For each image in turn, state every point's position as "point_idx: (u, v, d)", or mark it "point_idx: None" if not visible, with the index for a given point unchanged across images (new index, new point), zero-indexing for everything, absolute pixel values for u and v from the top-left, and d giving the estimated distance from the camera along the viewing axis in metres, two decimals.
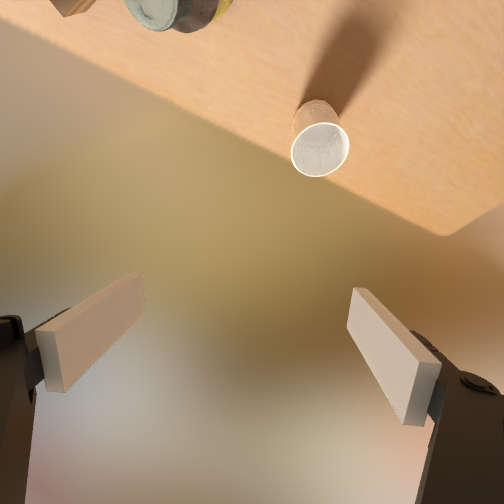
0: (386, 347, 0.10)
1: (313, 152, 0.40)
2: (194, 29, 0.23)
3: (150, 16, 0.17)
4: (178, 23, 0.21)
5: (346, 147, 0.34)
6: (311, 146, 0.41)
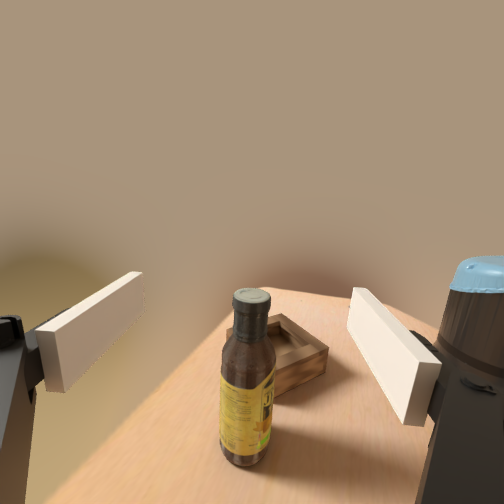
0: (386, 347, 0.10)
1: None
2: (224, 353, 0.26)
3: (241, 293, 0.26)
4: (230, 337, 0.27)
5: None
6: None
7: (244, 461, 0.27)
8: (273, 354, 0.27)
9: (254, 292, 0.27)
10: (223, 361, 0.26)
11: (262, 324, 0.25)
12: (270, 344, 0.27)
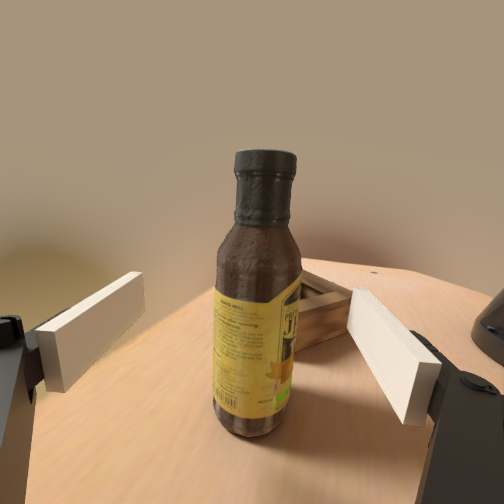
0: (386, 347, 0.10)
1: None
2: (221, 251, 0.16)
3: None
4: (230, 230, 0.17)
5: None
6: None
7: (250, 428, 0.17)
8: (299, 255, 0.17)
9: None
10: (218, 264, 0.16)
11: (283, 196, 0.15)
12: (294, 241, 0.17)
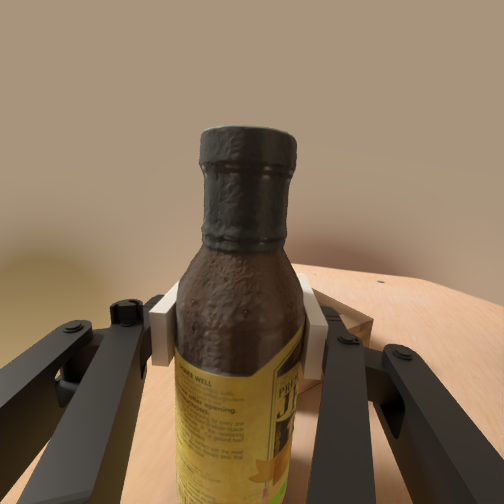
0: None
1: None
2: (180, 288, 0.11)
3: None
4: (197, 254, 0.11)
5: None
6: None
7: None
8: (300, 293, 0.11)
9: None
10: (177, 308, 0.11)
11: (276, 203, 0.09)
12: (293, 270, 0.11)
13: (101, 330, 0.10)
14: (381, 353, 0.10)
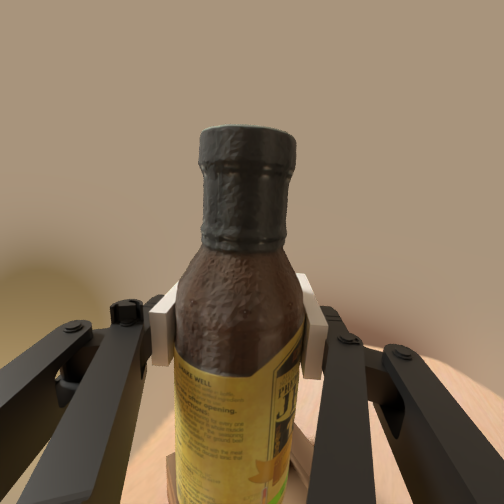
0: None
1: None
2: (179, 288, 0.11)
3: None
4: (196, 254, 0.11)
5: None
6: None
7: None
8: (300, 293, 0.11)
9: None
10: (176, 308, 0.11)
11: (275, 203, 0.09)
12: (292, 270, 0.11)
13: (101, 330, 0.10)
14: (381, 353, 0.10)
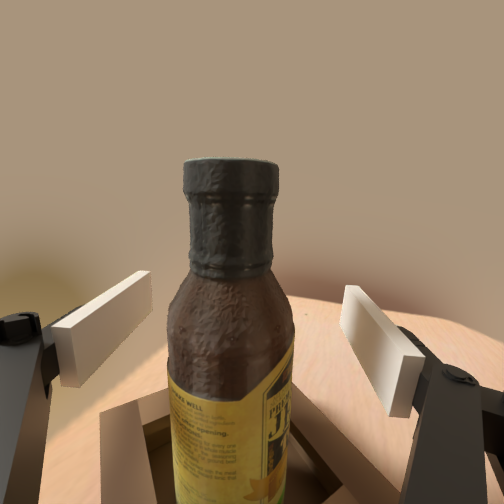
0: (374, 342, 0.11)
1: None
2: (170, 313, 0.11)
3: None
4: (186, 278, 0.11)
5: None
6: None
7: None
8: (288, 313, 0.11)
9: None
10: (167, 333, 0.11)
11: (259, 229, 0.10)
12: (280, 291, 0.11)
13: None
14: None
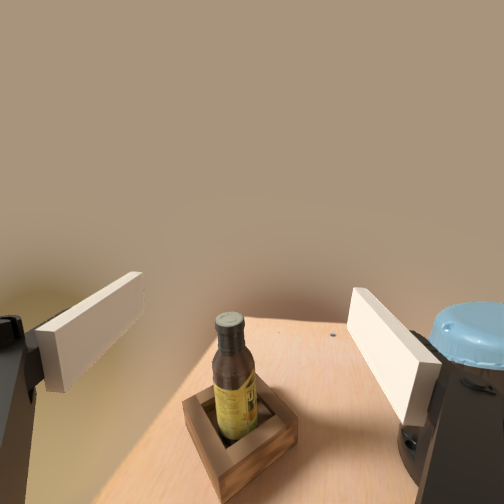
0: (386, 347, 0.10)
1: None
2: (213, 365, 0.34)
3: (221, 318, 0.34)
4: (217, 352, 0.35)
5: None
6: None
7: None
8: (251, 361, 0.35)
9: (231, 316, 0.34)
10: (213, 371, 0.34)
11: (239, 340, 0.33)
12: (248, 354, 0.35)
13: None
14: None
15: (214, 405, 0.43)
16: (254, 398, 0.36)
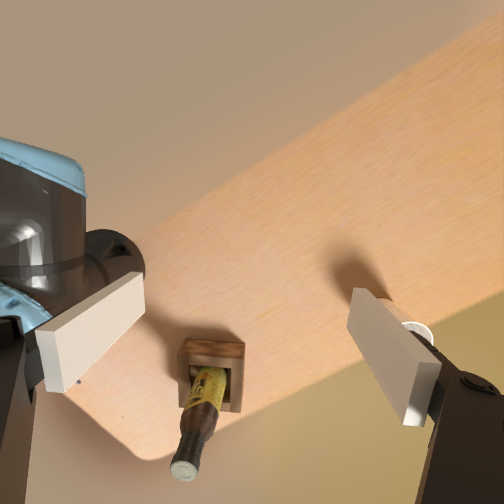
0: (386, 347, 0.10)
1: None
2: (213, 431, 0.41)
3: (189, 476, 0.35)
4: (205, 441, 0.40)
5: (420, 324, 0.39)
6: None
7: None
8: (186, 416, 0.40)
9: (179, 472, 0.35)
10: (215, 426, 0.41)
11: (187, 442, 0.36)
12: (184, 424, 0.39)
13: None
14: None
15: None
16: (197, 385, 0.46)
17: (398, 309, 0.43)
